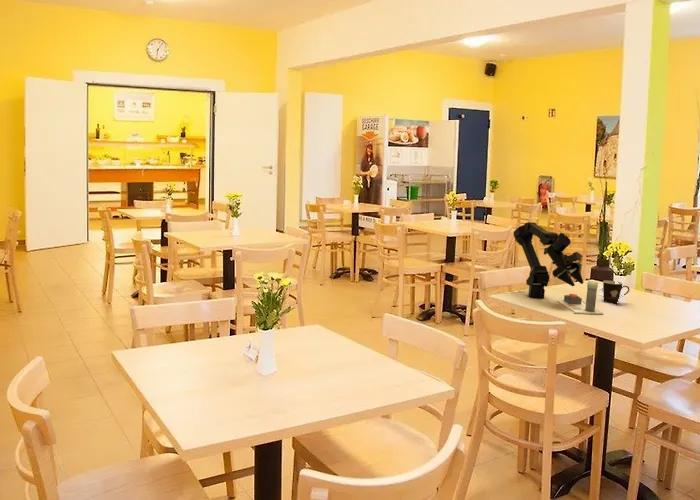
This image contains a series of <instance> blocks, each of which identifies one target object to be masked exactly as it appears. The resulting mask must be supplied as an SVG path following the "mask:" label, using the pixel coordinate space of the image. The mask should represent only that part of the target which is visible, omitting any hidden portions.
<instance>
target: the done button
mask: <svg viewBox="0 0 700 500" xmlns="http://www.w3.org/2000/svg"><path fill="white" fill-rule="evenodd" d="M568 295H569V297H570V298H577V296H578V294H576V293H569V294H568Z"/></svg>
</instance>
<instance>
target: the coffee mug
mask: <svg viewBox="0 0 700 500" xmlns="http://www.w3.org/2000/svg"><path fill="white" fill-rule="evenodd" d="M617 282H618V283H619V284H615V280H603V282H602V284H603V285H602V287H603V289H602V291H603V294H602V295H603V297H602V298H603V303H608V304H612V305H614V304H617V302H618V303H619V301H618V299H619V300H620V298H619V297H620V296H621V292H622V289H623V288H627V291H626V292H625V293H624V296H625V295H627V294H628V293H630V287H629V286H627V285H623V283H622V282H621V281H617ZM622 286H623V287H622ZM617 305H618V304H617Z"/></svg>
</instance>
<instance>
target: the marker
mask: <svg viewBox="0 0 700 500" xmlns="http://www.w3.org/2000/svg"><path fill="white" fill-rule="evenodd" d="M586 284H587V285H586V287H587V288H586V289H587V290H586V298H585V299H586V301H585V303H586V307H585V311H588V312H595V309H596V303H597V293H598V287H599V286H598V285H599V282H598V281H593V280H592V281H591V280H589V281H587V283H586Z"/></svg>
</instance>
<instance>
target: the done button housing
mask: <svg viewBox="0 0 700 500" xmlns="http://www.w3.org/2000/svg"><path fill="white" fill-rule="evenodd" d="M563 301H564V302H566V303H568V304H581V302H583V301H582V297H580V296H579V295H577V298H570V297H569V294H564V295H563Z"/></svg>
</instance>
